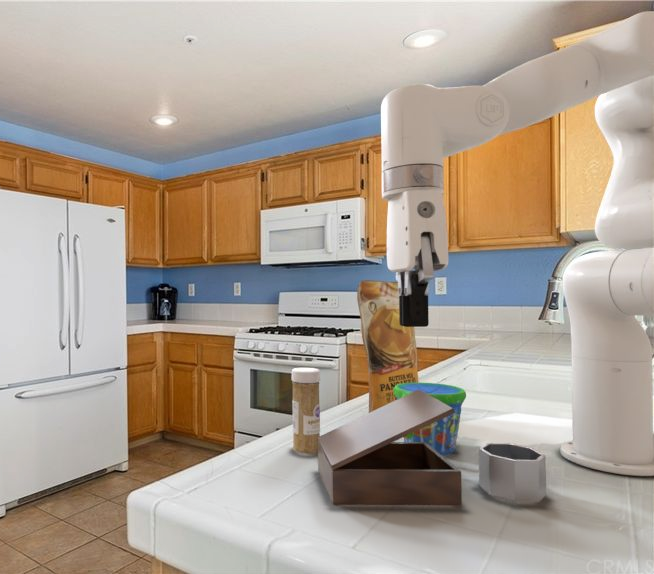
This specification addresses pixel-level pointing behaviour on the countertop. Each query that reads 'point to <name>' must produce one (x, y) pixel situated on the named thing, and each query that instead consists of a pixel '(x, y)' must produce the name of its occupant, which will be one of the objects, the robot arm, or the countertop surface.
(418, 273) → the robot arm
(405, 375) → the pancake mix bag
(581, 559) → the countertop surface
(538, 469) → the steel cup
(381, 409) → the lid
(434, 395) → the snack cup
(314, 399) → the sprinkles bottle
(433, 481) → the chest
